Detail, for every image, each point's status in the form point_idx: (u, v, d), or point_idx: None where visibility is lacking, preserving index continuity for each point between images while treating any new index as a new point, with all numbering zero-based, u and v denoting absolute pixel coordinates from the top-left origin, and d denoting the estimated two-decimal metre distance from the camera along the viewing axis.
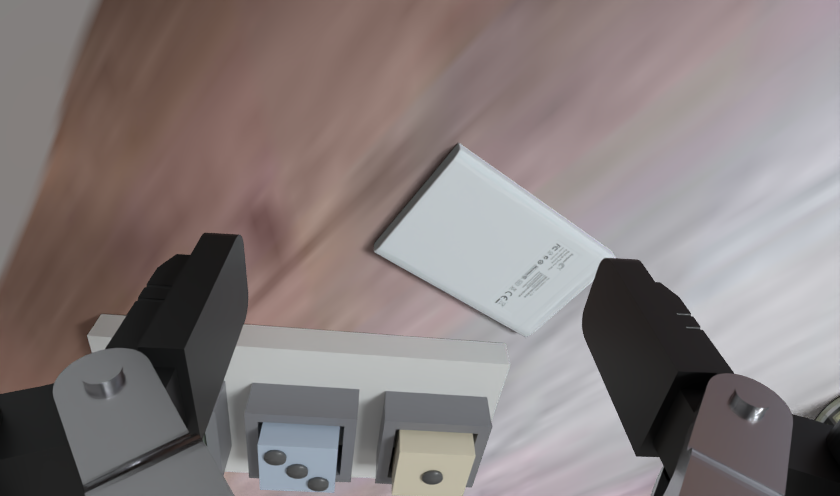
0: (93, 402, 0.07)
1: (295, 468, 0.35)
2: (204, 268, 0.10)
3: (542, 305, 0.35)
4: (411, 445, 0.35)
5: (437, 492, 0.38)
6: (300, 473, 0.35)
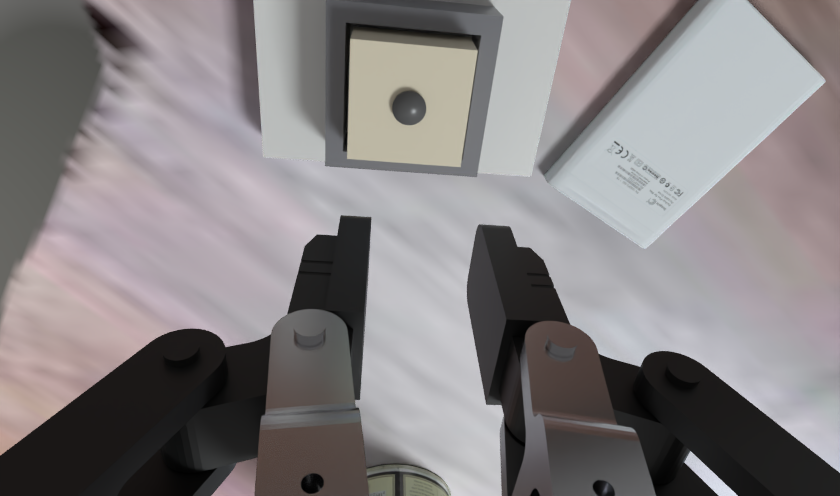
0: (310, 353, 0.08)
1: None
2: (354, 245, 0.11)
3: (599, 192, 0.31)
4: None
5: (361, 118, 0.23)
6: None
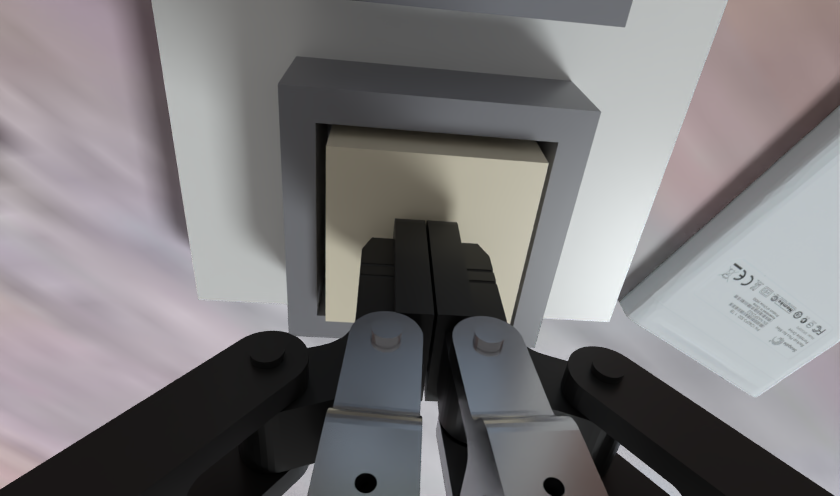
0: (390, 355, 0.08)
1: None
2: (413, 248, 0.11)
3: (702, 330, 0.21)
4: None
5: (348, 266, 0.14)
6: None
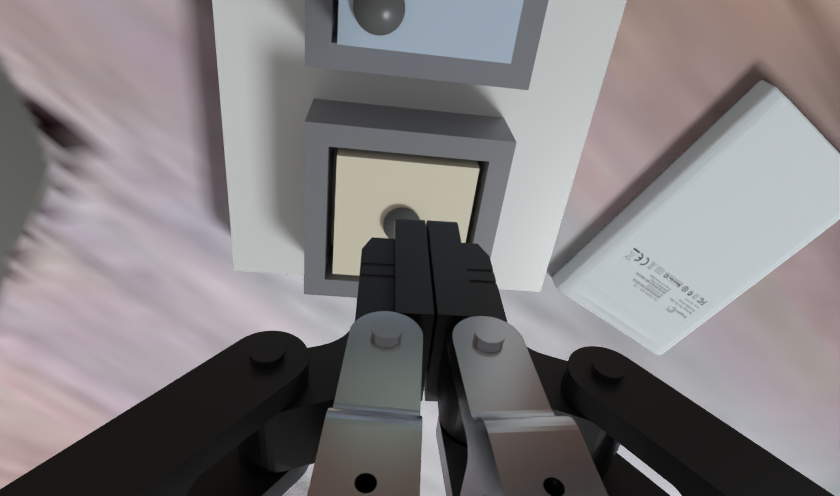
0: (390, 355, 0.08)
1: None
2: (413, 248, 0.11)
3: (613, 299, 0.27)
4: None
5: (349, 234, 0.20)
6: None
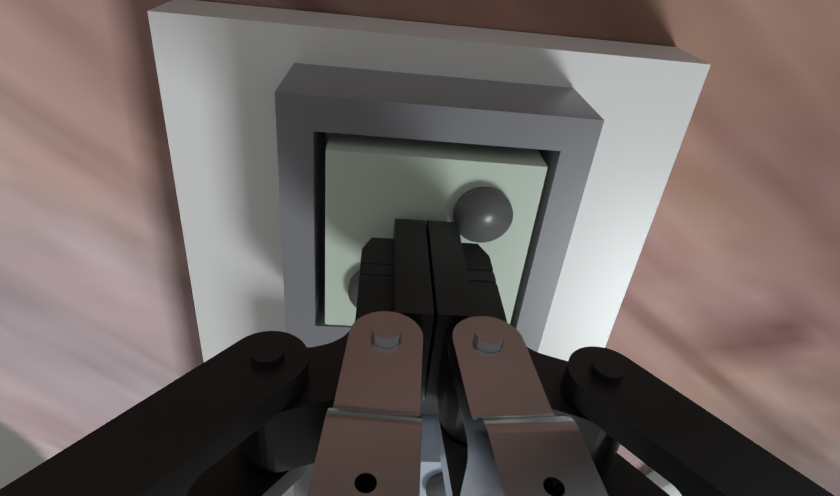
0: (390, 355, 0.08)
1: None
2: (413, 248, 0.11)
3: None
4: None
5: None
6: None
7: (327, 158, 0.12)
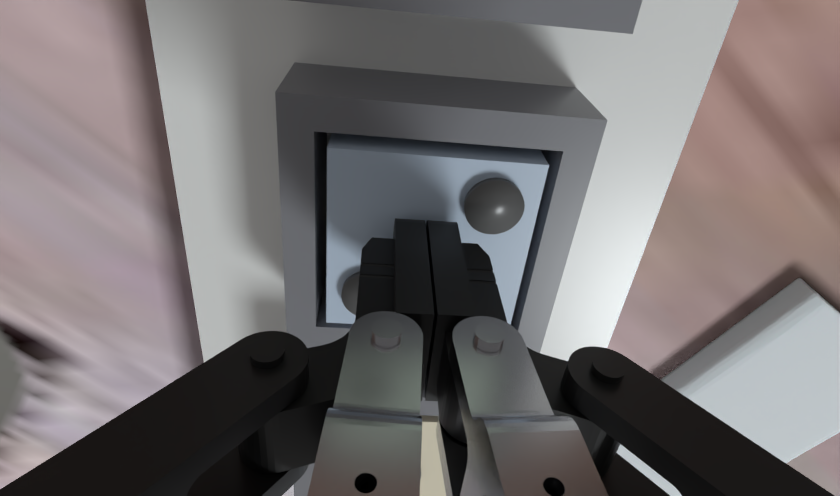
0: (390, 355, 0.08)
1: None
2: (413, 248, 0.11)
3: None
4: None
5: None
6: None
7: None
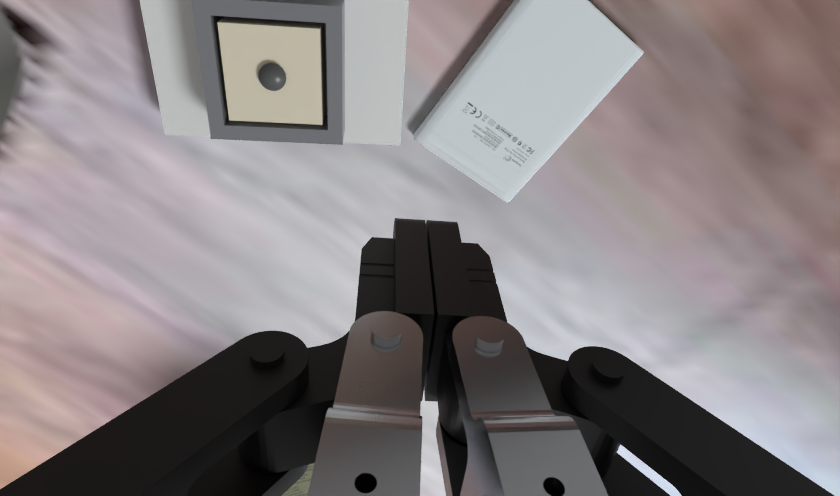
0: (390, 355, 0.08)
1: None
2: (413, 248, 0.11)
3: (460, 149, 0.35)
4: (321, 42, 0.28)
5: (236, 86, 0.28)
6: None
7: None
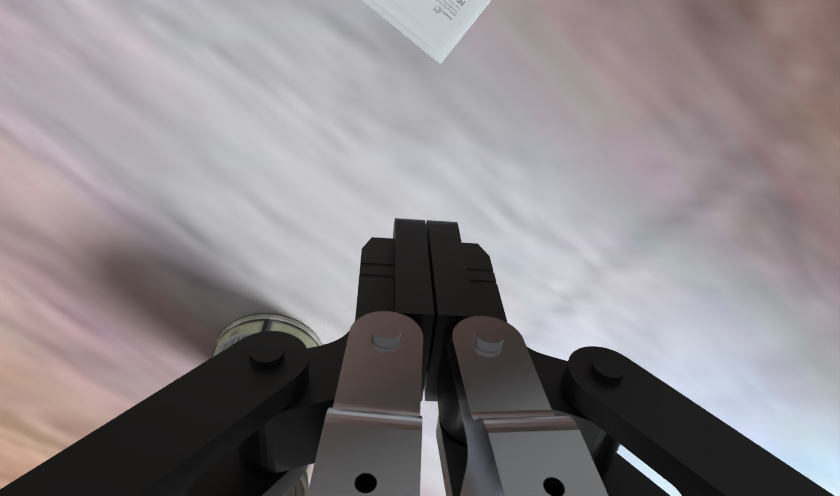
0: (390, 355, 0.08)
1: None
2: (413, 248, 0.11)
3: None
4: None
5: None
6: None
7: None
